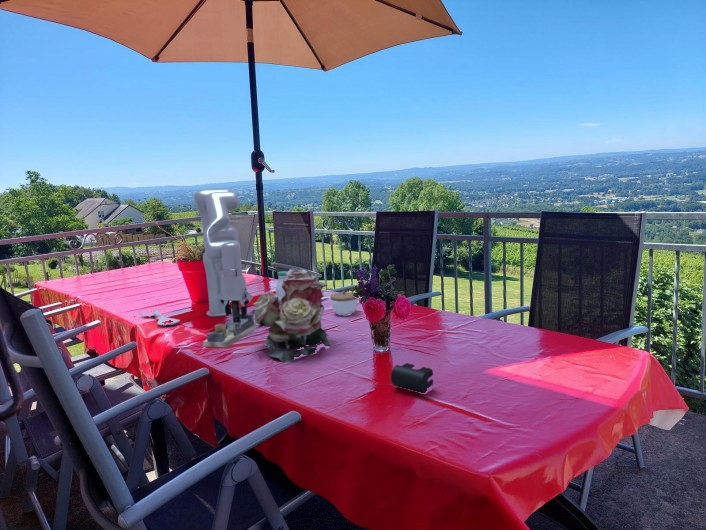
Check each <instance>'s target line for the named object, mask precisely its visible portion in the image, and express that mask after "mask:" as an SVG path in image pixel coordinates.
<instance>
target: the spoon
mask: <svg viewBox="0 0 706 530" xmlns="http://www.w3.org/2000/svg"><path fill="white" fill-rule="evenodd" d="M148 313H155V314H153V315H151V316H155V317H159V319H158V321H157V322H156V323H157V324H158V326H162V325H163V326H165V327H166V325H170V326H172V325H175V324H178V323H179V322H180V319H176V318H171V317H167V316H164V315H163V314H162V313H160V312H159V310H158V308H155V309H153V310H151V309H150V311H147V312H146V311H143V312H142V311H138V314H139V315H142V316H143V315H145V314H148ZM169 320H171V321H173V322H171V323H166V324H164V323H162V322H165V321H169ZM163 326H162V327H163Z"/></svg>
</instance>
